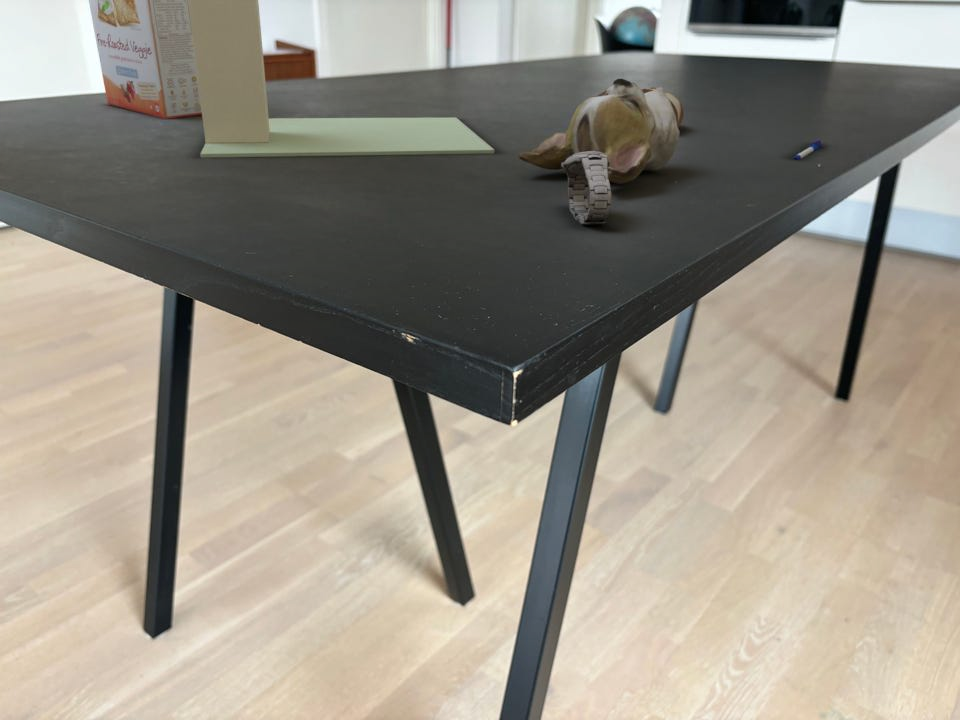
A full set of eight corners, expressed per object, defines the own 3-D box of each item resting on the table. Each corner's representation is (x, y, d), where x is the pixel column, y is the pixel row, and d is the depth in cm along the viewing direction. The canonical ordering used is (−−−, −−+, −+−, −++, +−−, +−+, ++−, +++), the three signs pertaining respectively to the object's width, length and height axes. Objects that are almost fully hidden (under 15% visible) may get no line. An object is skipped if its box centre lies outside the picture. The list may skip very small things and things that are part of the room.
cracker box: (104, 106, 97) (69, -85, 88) (149, 102, 101) (121, -81, 92) (162, 121, 89) (131, -89, 79) (209, 115, 93) (184, -84, 84)
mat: (200, 159, 71) (200, 153, 71) (217, 122, 89) (217, 118, 88) (494, 154, 77) (494, 149, 77) (456, 121, 94) (456, 117, 94)
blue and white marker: (813, 147, 87) (815, 138, 87) (821, 148, 87) (823, 139, 86) (792, 162, 79) (794, 152, 79) (801, 163, 79) (803, 153, 78)
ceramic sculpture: (718, 74, 67) (621, 98, 57) (705, 173, 71) (613, 211, 61) (615, 64, 73) (512, 84, 64) (609, 156, 77) (512, 188, 68)
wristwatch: (596, 209, 59) (602, 143, 57) (620, 233, 54) (628, 161, 52) (551, 209, 59) (556, 143, 57) (571, 233, 53) (578, 161, 51)
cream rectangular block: (205, 143, 75) (179, -67, 67) (210, 132, 81) (187, -64, 73) (268, 142, 77) (250, -64, 69) (269, 131, 82) (252, -61, 74)
